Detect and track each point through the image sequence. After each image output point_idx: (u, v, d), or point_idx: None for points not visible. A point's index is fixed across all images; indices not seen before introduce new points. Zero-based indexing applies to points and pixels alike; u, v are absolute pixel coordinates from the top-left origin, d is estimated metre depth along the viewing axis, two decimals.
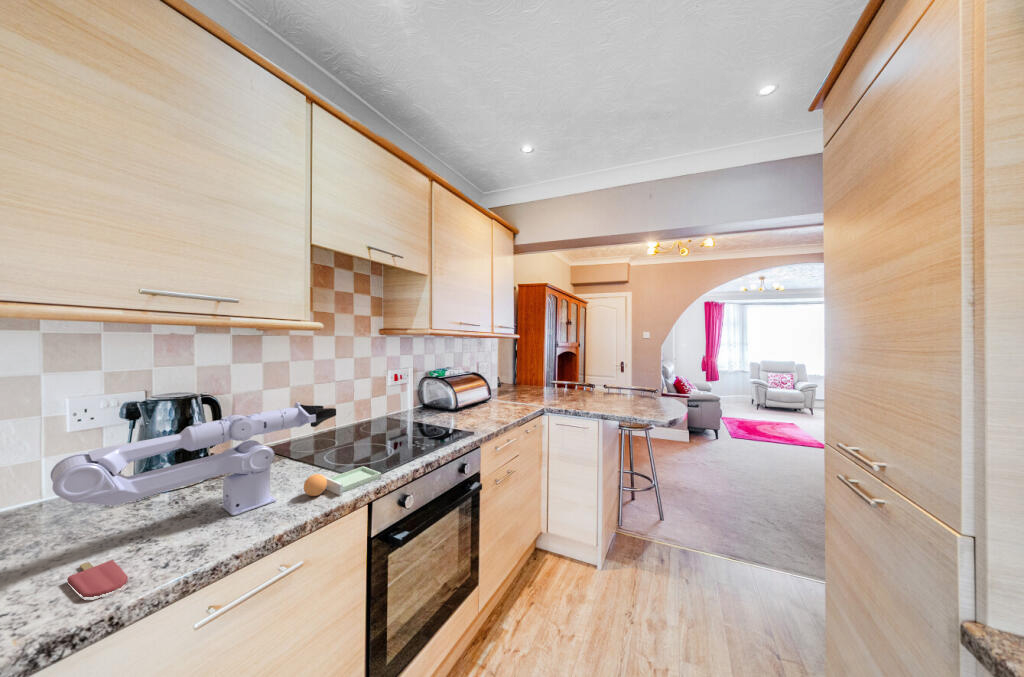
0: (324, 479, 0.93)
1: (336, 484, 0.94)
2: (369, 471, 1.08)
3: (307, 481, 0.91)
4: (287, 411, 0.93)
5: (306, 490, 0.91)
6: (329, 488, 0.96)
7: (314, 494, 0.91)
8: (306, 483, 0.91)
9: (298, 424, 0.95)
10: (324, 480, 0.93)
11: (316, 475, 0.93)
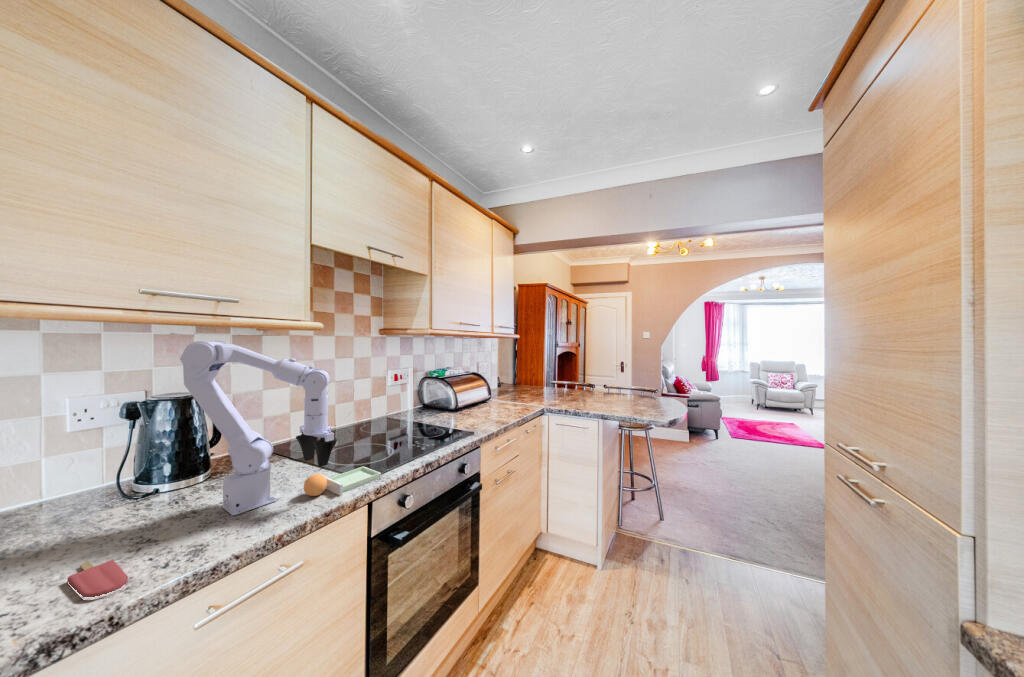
0: (324, 479, 0.93)
1: (336, 484, 0.94)
2: (369, 471, 1.08)
3: (307, 481, 0.91)
4: (327, 418, 0.94)
5: (306, 490, 0.91)
6: (329, 488, 0.96)
7: (314, 494, 0.91)
8: (306, 483, 0.91)
9: (312, 430, 0.90)
10: (324, 480, 0.93)
11: (316, 475, 0.93)
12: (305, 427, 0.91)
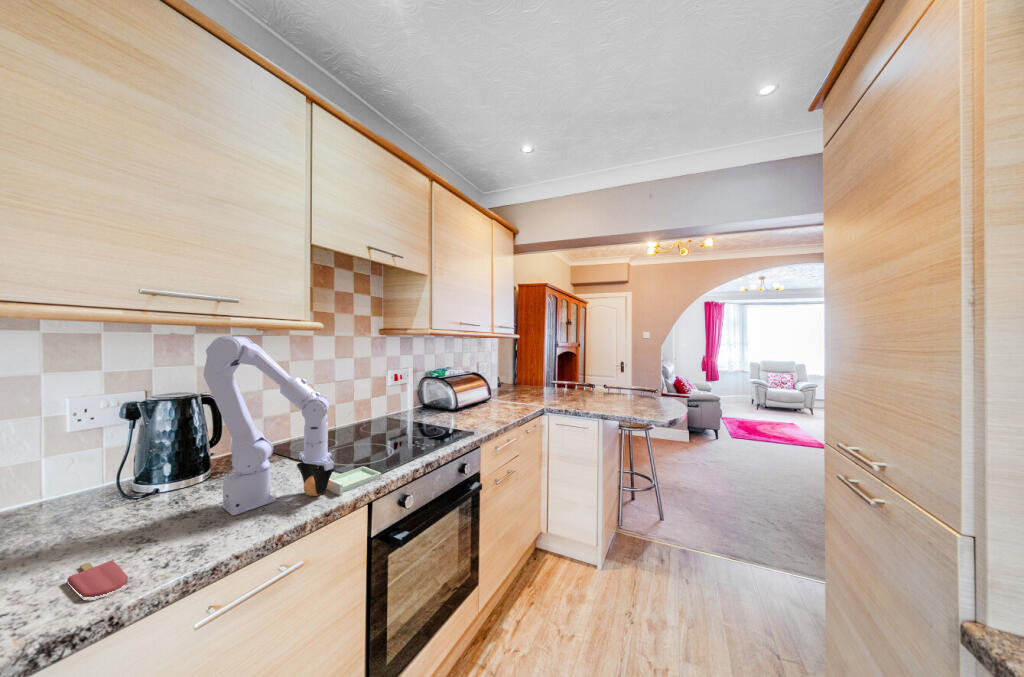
0: None
1: (336, 484, 0.94)
2: (369, 471, 1.08)
3: (307, 481, 0.91)
4: (327, 445, 0.94)
5: (306, 490, 0.91)
6: (329, 488, 0.96)
7: (314, 494, 0.91)
8: (306, 483, 0.91)
9: (312, 458, 0.90)
10: None
11: None
12: (305, 455, 0.91)
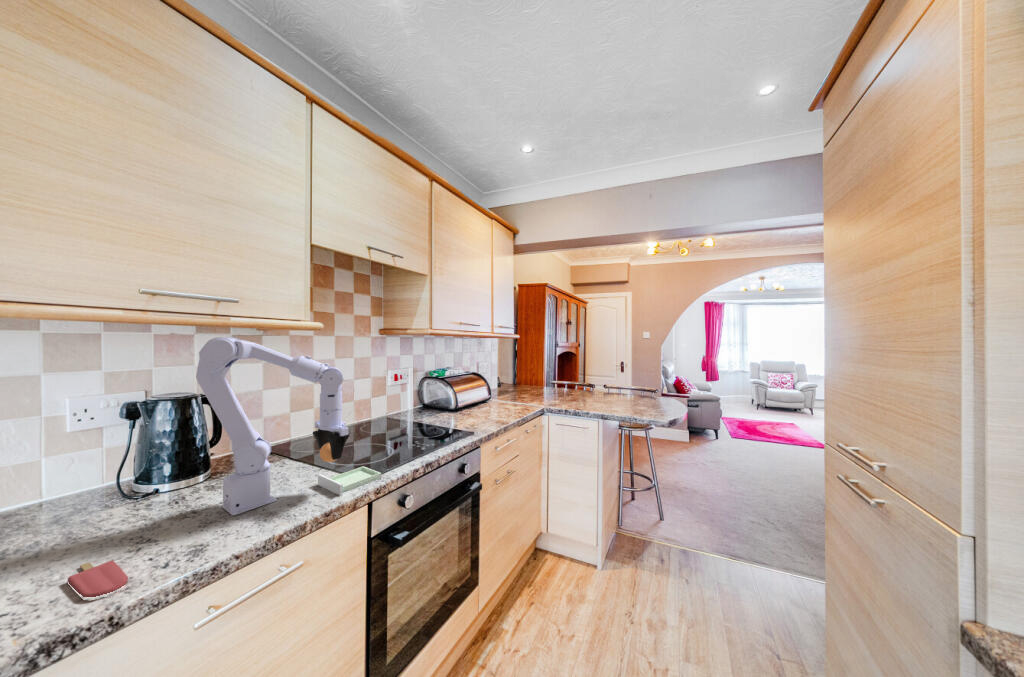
0: None
1: (336, 484, 0.94)
2: (369, 471, 1.08)
3: (323, 447, 0.95)
4: None
5: (322, 455, 0.94)
6: (329, 488, 0.96)
7: (330, 460, 0.95)
8: (322, 449, 0.94)
9: (328, 425, 0.94)
10: None
11: None
12: (320, 422, 0.94)
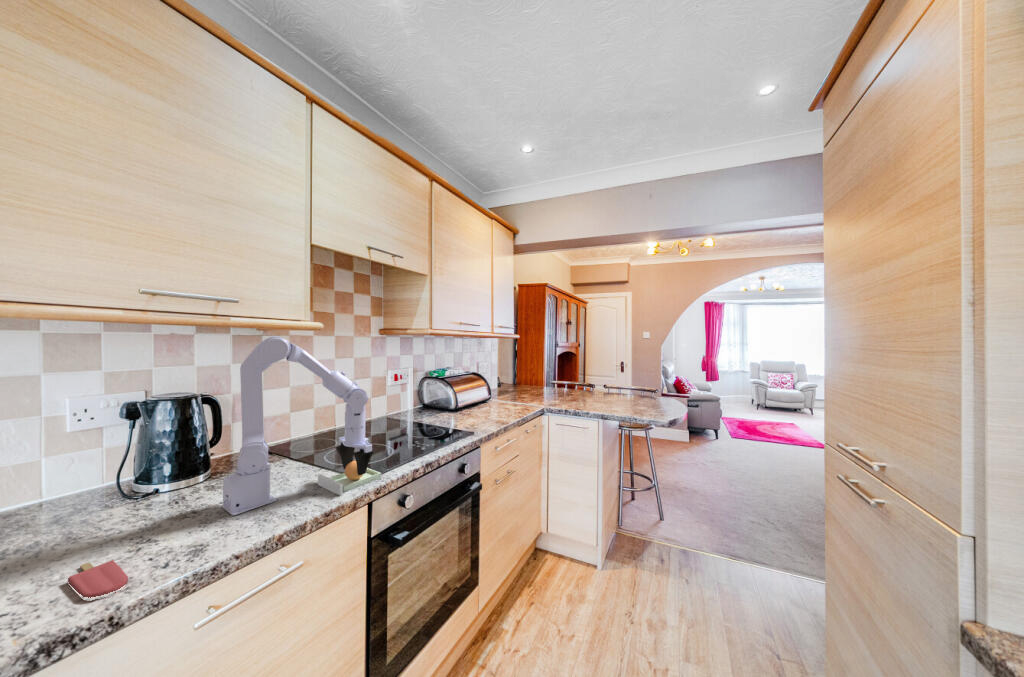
0: None
1: (336, 484, 0.94)
2: (369, 471, 1.08)
3: (348, 466, 1.01)
4: None
5: (347, 474, 1.00)
6: (329, 488, 0.96)
7: (354, 479, 1.01)
8: (348, 468, 1.00)
9: (353, 442, 1.00)
10: None
11: None
12: (346, 439, 1.00)
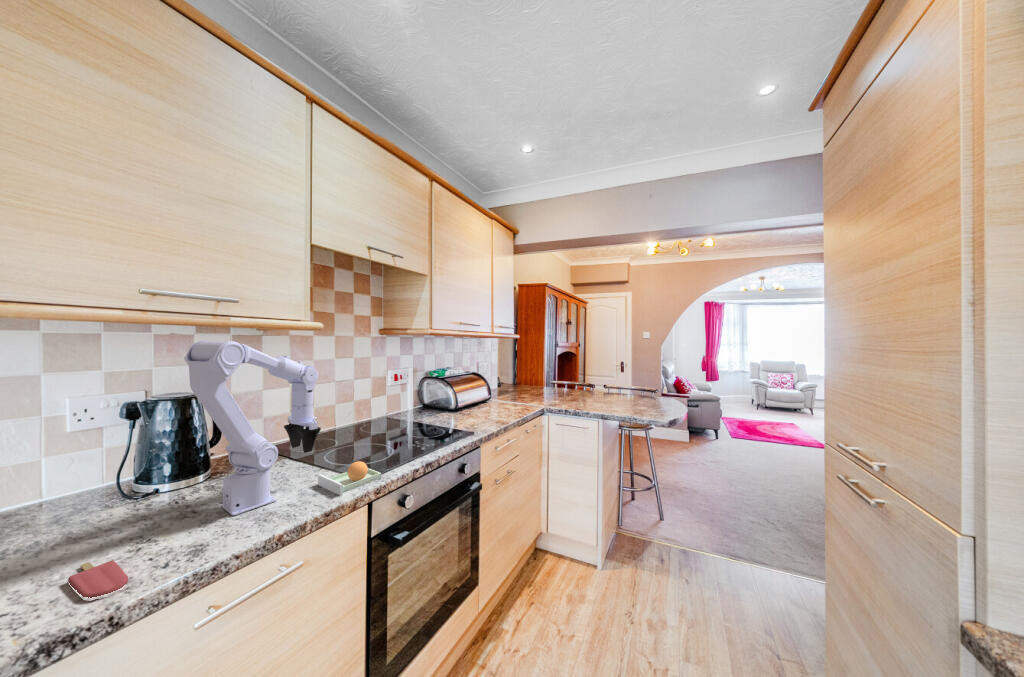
0: (366, 470, 1.02)
1: (336, 484, 0.94)
2: (369, 471, 1.08)
3: (353, 469, 1.00)
4: (312, 408, 1.03)
5: (350, 476, 0.99)
6: (329, 488, 0.96)
7: (355, 480, 1.01)
8: (351, 470, 0.99)
9: (298, 420, 1.00)
10: (366, 471, 1.02)
11: (361, 465, 1.01)
12: (292, 417, 1.00)
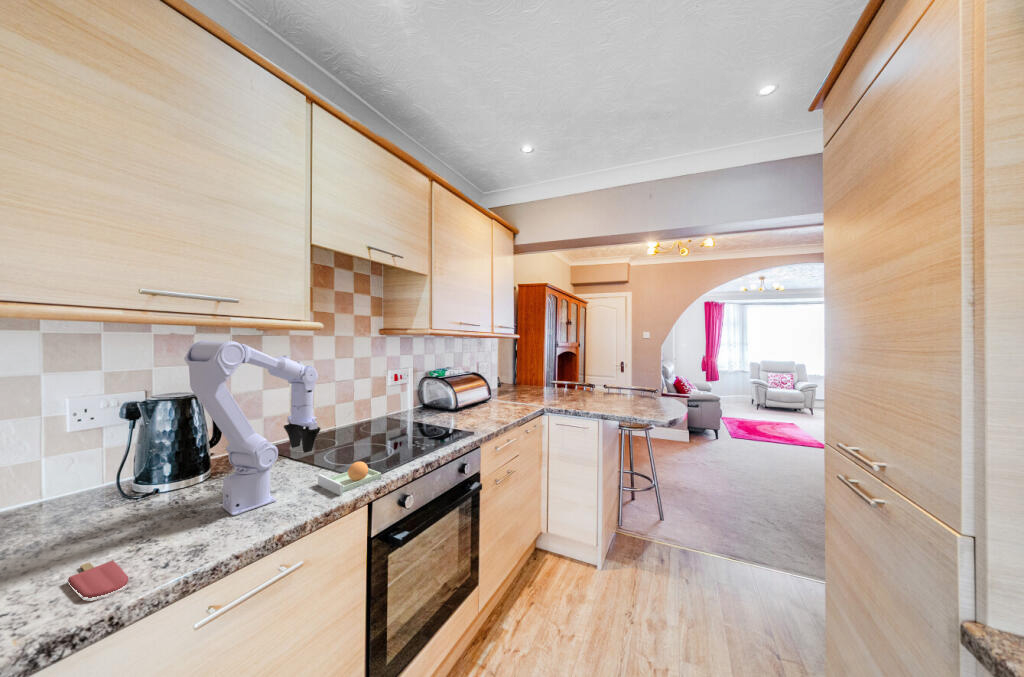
0: (367, 471, 1.02)
1: (336, 484, 0.94)
2: (369, 471, 1.08)
3: (353, 469, 0.99)
4: (312, 408, 1.03)
5: (350, 476, 0.99)
6: (329, 488, 0.96)
7: None
8: (352, 471, 0.99)
9: (298, 420, 1.00)
10: (367, 472, 1.02)
11: (362, 466, 1.01)
12: (291, 417, 1.00)
